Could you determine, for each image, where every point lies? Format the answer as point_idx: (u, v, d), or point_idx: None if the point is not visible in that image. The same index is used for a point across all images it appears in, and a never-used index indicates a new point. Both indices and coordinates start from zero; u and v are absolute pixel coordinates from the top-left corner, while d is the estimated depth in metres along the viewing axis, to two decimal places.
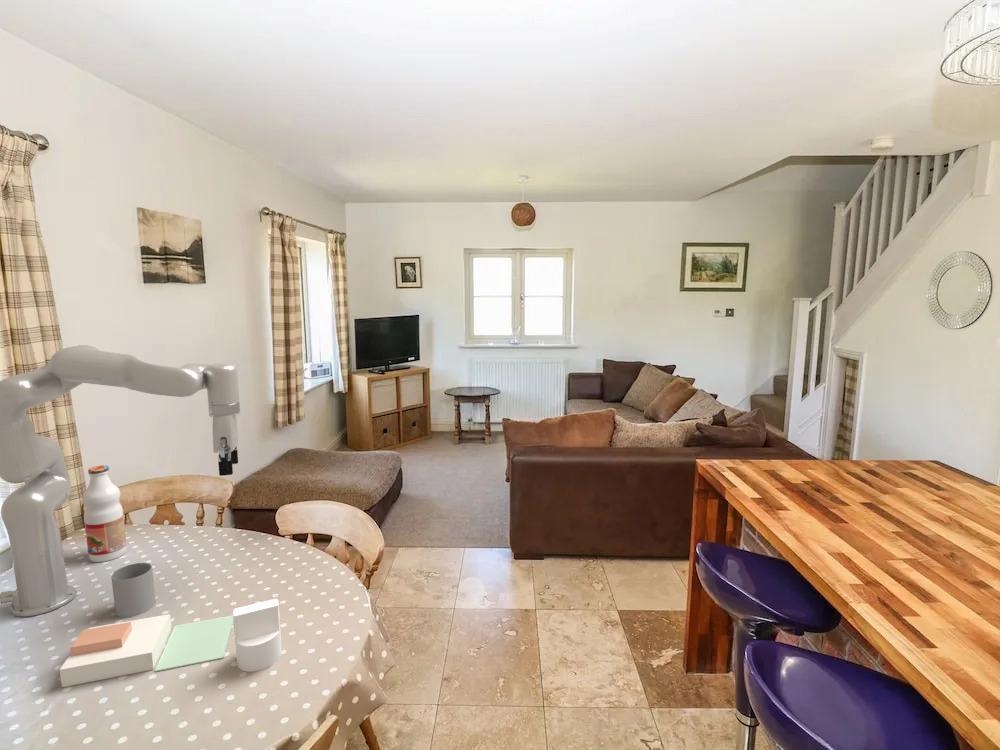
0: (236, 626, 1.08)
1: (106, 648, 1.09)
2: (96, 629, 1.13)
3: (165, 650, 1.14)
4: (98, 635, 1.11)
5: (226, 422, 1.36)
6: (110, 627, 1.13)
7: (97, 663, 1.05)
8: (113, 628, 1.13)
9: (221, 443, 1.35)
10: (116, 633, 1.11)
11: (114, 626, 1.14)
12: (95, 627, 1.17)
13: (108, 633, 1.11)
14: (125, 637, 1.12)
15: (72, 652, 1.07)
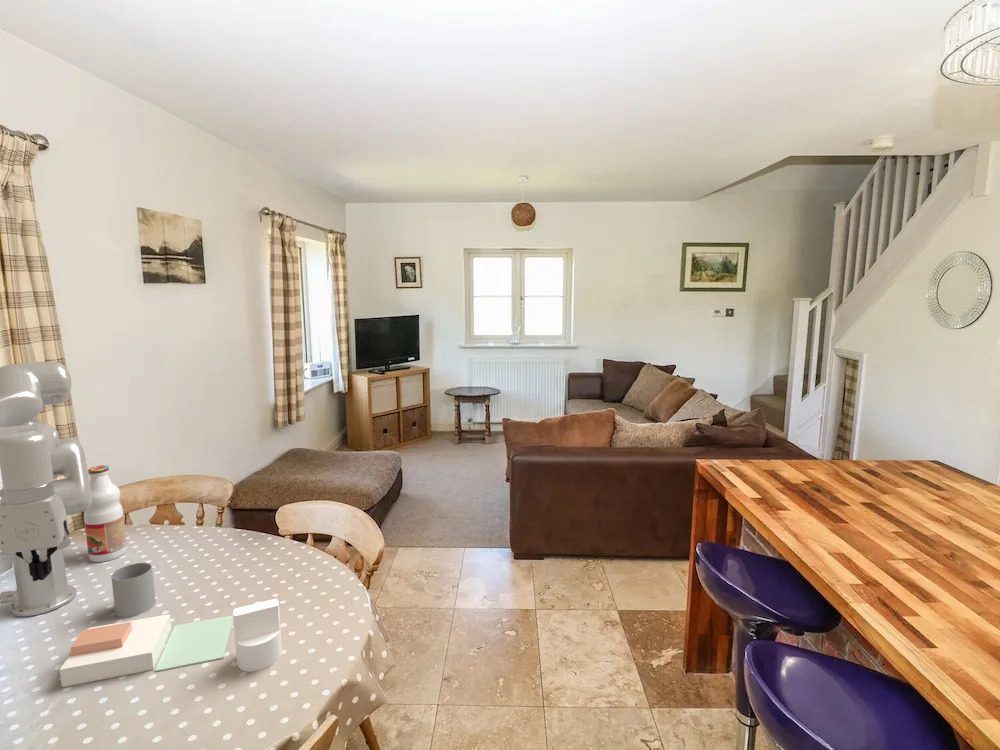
0: (236, 626, 1.08)
1: (106, 648, 1.09)
2: (96, 629, 1.13)
3: (165, 650, 1.14)
4: (98, 635, 1.11)
5: (61, 500, 1.06)
6: (110, 627, 1.13)
7: (97, 663, 1.05)
8: (113, 628, 1.13)
9: (65, 536, 1.06)
10: (116, 633, 1.11)
11: (114, 626, 1.14)
12: (95, 627, 1.17)
13: (108, 633, 1.11)
14: (125, 637, 1.12)
15: (72, 652, 1.07)
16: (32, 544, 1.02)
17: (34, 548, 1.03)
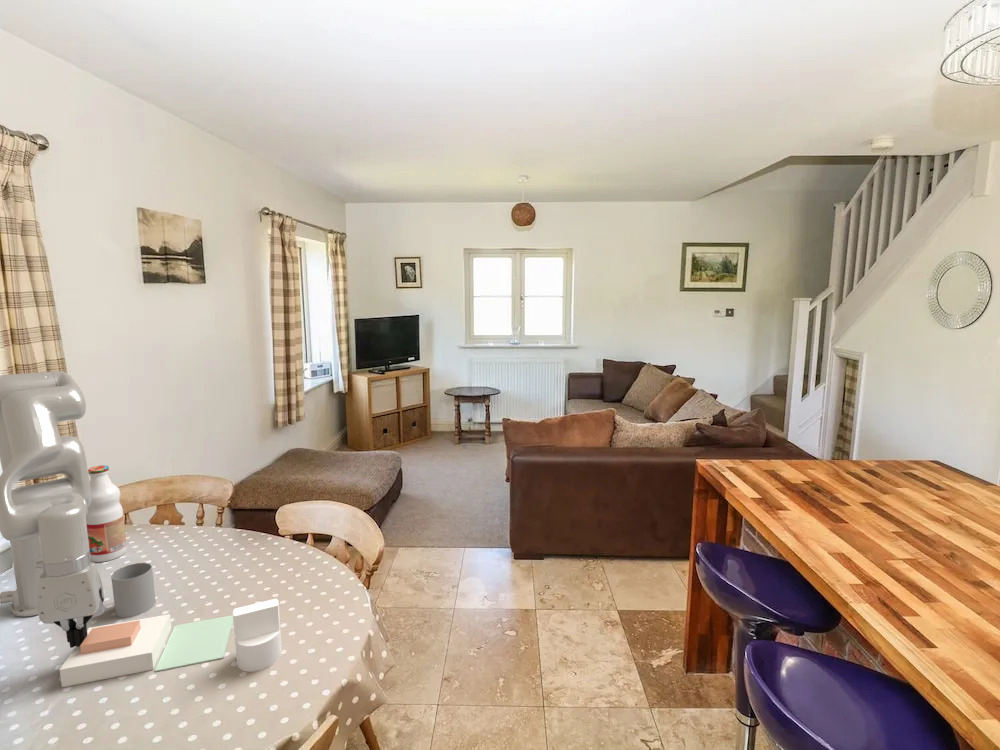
0: (236, 626, 1.08)
1: (115, 646, 1.10)
2: (105, 627, 1.13)
3: (165, 650, 1.14)
4: (107, 633, 1.11)
5: (96, 569, 1.10)
6: (119, 625, 1.14)
7: (97, 663, 1.05)
8: (122, 626, 1.14)
9: (100, 603, 1.10)
10: (125, 631, 1.12)
11: (123, 624, 1.14)
12: (95, 627, 1.17)
13: (117, 631, 1.12)
14: (134, 635, 1.13)
15: (82, 650, 1.08)
16: (70, 613, 1.06)
17: (72, 617, 1.06)
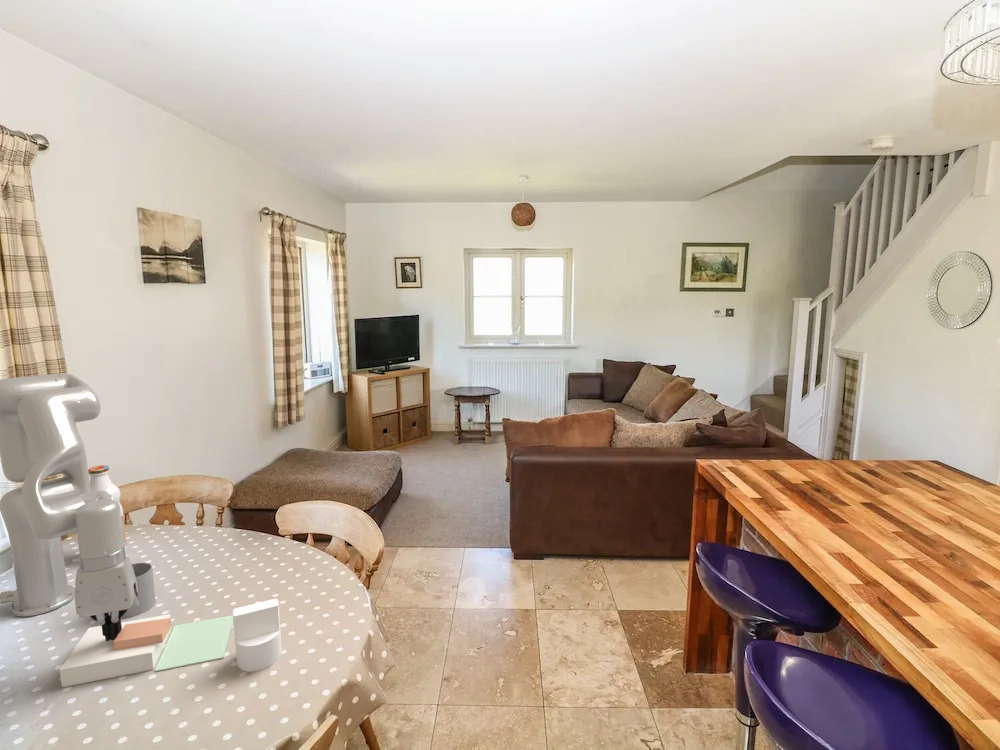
0: (236, 626, 1.08)
1: (147, 643, 1.11)
2: (138, 624, 1.15)
3: (165, 650, 1.14)
4: (139, 630, 1.13)
5: (131, 564, 1.12)
6: (151, 622, 1.15)
7: (97, 663, 1.05)
8: (154, 623, 1.15)
9: (135, 598, 1.12)
10: (157, 629, 1.13)
11: (155, 621, 1.16)
12: (95, 627, 1.17)
13: (149, 628, 1.13)
14: (165, 633, 1.14)
15: (115, 646, 1.09)
16: (106, 607, 1.08)
17: (108, 611, 1.08)
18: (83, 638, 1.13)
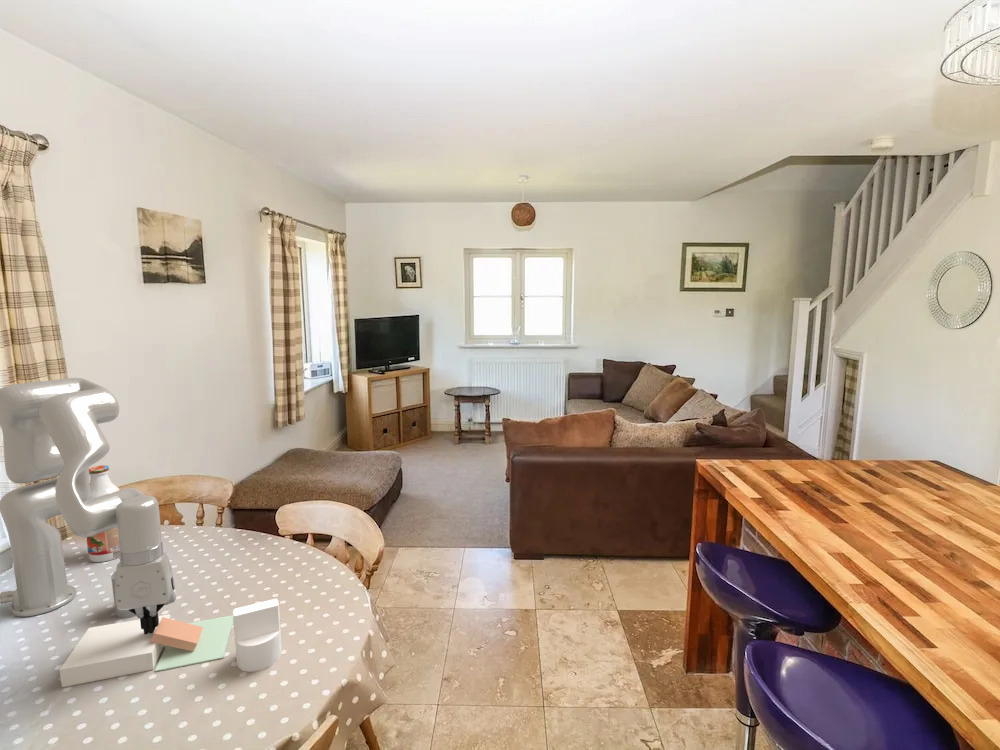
0: (236, 626, 1.08)
1: (180, 647, 1.13)
2: (174, 622, 1.17)
3: (165, 650, 1.14)
4: (176, 630, 1.15)
5: (168, 559, 1.14)
6: (186, 625, 1.18)
7: (97, 663, 1.05)
8: (188, 628, 1.17)
9: (172, 592, 1.14)
10: (192, 635, 1.16)
11: (189, 625, 1.18)
12: (95, 627, 1.17)
13: (185, 632, 1.16)
14: None
15: (152, 638, 1.11)
16: (145, 601, 1.10)
17: (147, 605, 1.11)
18: (83, 638, 1.13)
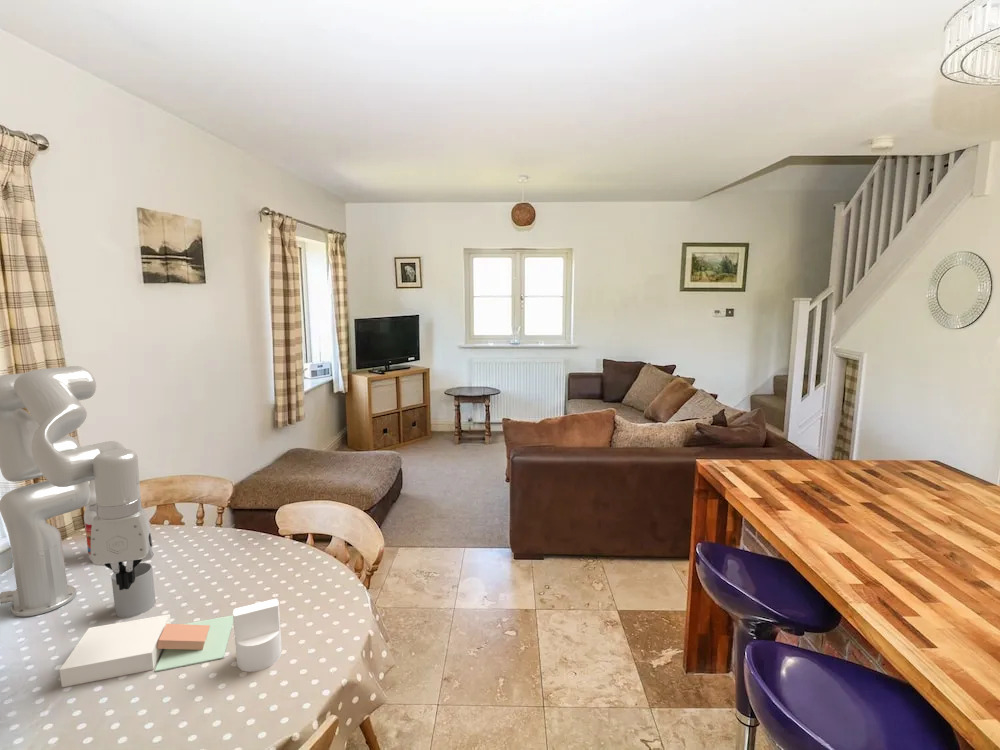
0: (236, 626, 1.08)
1: (188, 648, 1.14)
2: (179, 626, 1.17)
3: (165, 650, 1.14)
4: (182, 632, 1.16)
5: (146, 515, 1.12)
6: (191, 626, 1.18)
7: (97, 663, 1.05)
8: (195, 628, 1.18)
9: (149, 548, 1.12)
10: (198, 634, 1.16)
11: (195, 626, 1.19)
12: (95, 627, 1.17)
13: (191, 633, 1.16)
14: (205, 640, 1.17)
15: (158, 645, 1.12)
16: (121, 556, 1.08)
17: (123, 560, 1.08)
18: (83, 638, 1.13)
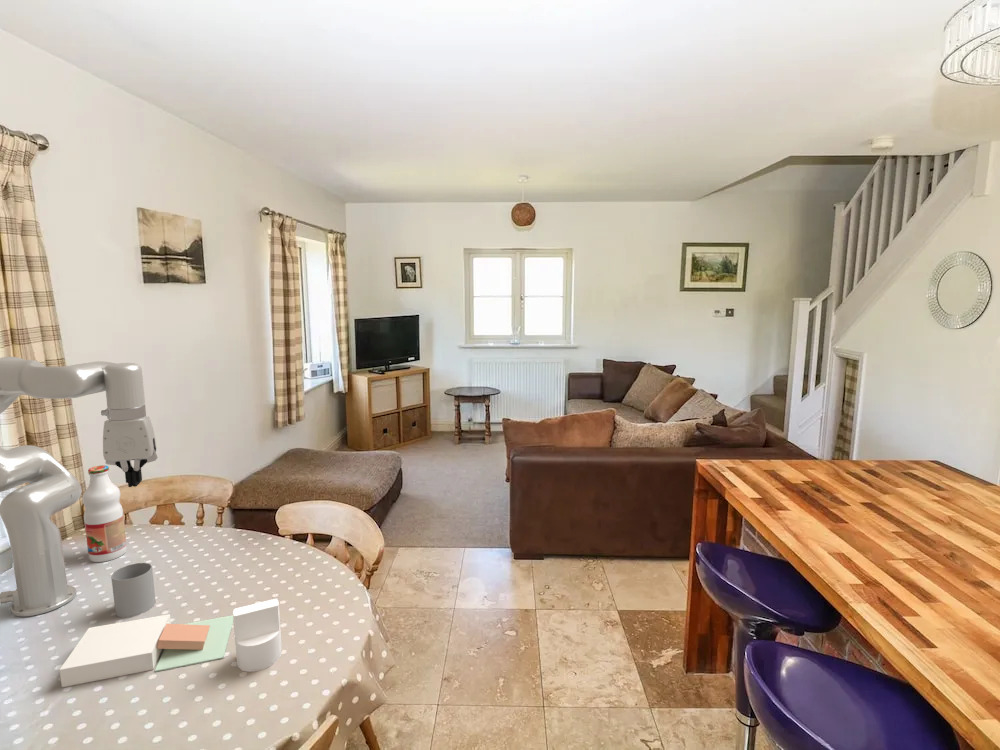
0: (236, 626, 1.08)
1: (188, 648, 1.14)
2: (179, 626, 1.17)
3: (165, 650, 1.14)
4: (182, 632, 1.16)
5: (150, 422, 1.28)
6: (191, 626, 1.18)
7: (97, 663, 1.05)
8: (195, 628, 1.18)
9: (153, 451, 1.28)
10: (198, 634, 1.16)
11: (195, 626, 1.19)
12: (95, 627, 1.17)
13: (191, 633, 1.16)
14: (205, 640, 1.17)
15: (158, 645, 1.12)
16: (129, 455, 1.24)
17: (131, 458, 1.25)
18: (83, 638, 1.13)
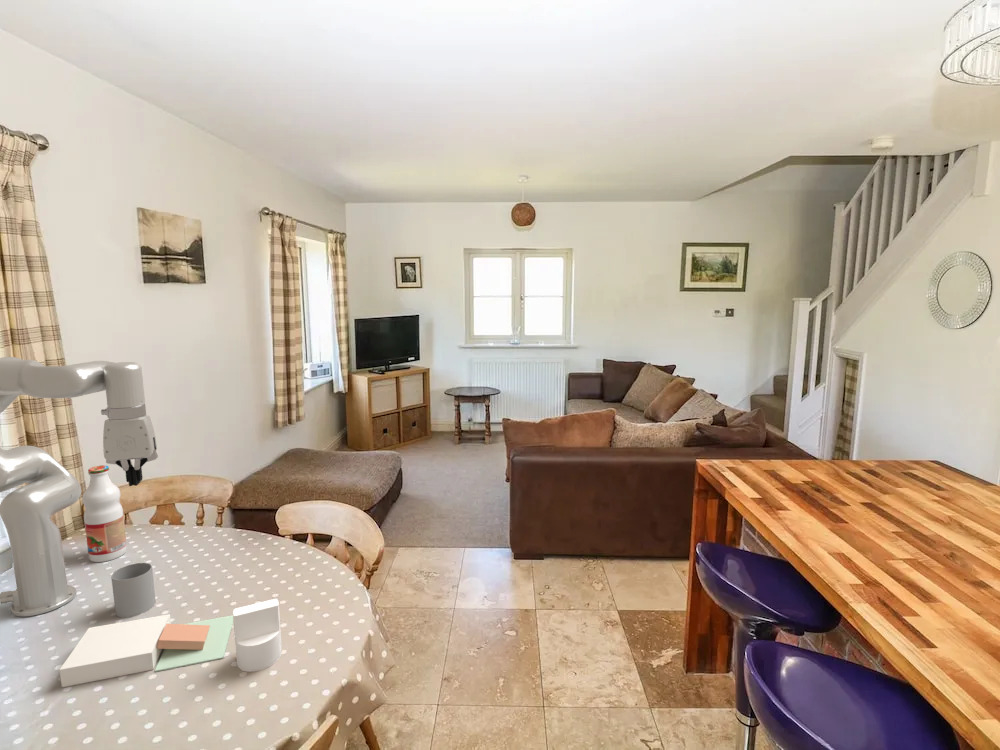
0: (236, 626, 1.08)
1: (188, 648, 1.14)
2: (179, 626, 1.17)
3: (165, 650, 1.14)
4: (182, 632, 1.16)
5: None
6: (191, 626, 1.18)
7: (97, 663, 1.05)
8: (195, 628, 1.18)
9: (154, 450, 1.29)
10: (198, 634, 1.16)
11: (195, 626, 1.19)
12: (95, 627, 1.17)
13: (191, 633, 1.16)
14: (205, 640, 1.17)
15: (158, 645, 1.12)
16: (130, 454, 1.25)
17: (131, 457, 1.25)
18: (83, 638, 1.13)
